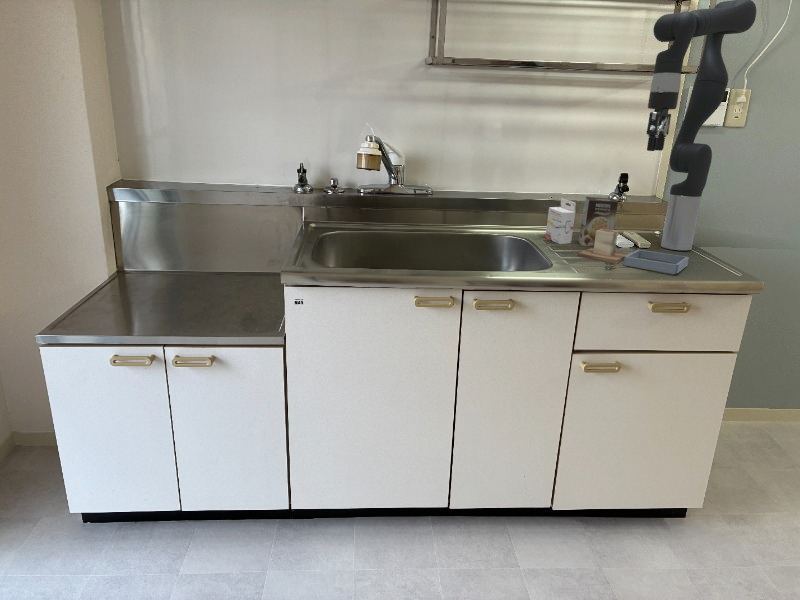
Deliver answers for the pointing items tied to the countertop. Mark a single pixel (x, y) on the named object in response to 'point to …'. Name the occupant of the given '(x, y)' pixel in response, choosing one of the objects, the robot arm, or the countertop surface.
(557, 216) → the ink cartridge box
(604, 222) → the coffee box
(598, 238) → the block
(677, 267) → the bin
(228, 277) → the countertop surface
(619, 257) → the board
